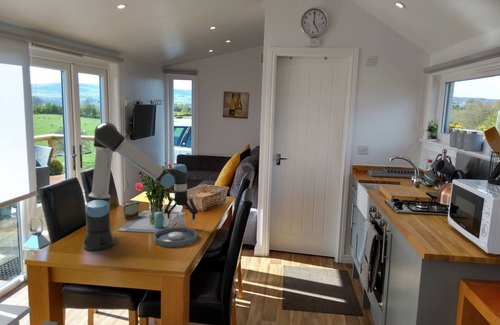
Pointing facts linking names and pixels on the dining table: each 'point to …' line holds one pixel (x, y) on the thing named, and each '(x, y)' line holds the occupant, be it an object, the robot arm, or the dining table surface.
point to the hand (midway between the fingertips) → (181, 224)
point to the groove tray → (169, 243)
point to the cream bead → (181, 220)
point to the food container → (131, 209)
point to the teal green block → (158, 219)
